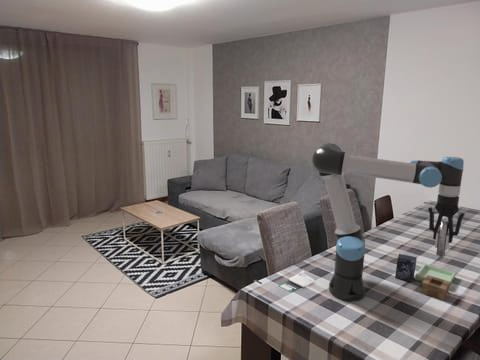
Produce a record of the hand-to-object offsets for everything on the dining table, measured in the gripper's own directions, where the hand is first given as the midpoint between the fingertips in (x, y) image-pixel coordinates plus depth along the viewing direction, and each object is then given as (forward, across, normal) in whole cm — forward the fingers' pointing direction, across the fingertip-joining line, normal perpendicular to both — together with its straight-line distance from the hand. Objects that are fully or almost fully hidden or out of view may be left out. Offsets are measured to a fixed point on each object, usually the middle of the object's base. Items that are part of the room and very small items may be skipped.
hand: (441, 248), depth 147 cm
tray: (+21, +4, -14) cm, 26 cm away
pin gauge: (+3, 0, 0) cm, 3 cm away
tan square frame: (+21, 0, 0) cm, 21 cm away
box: (+21, +14, -5) cm, 26 cm away
